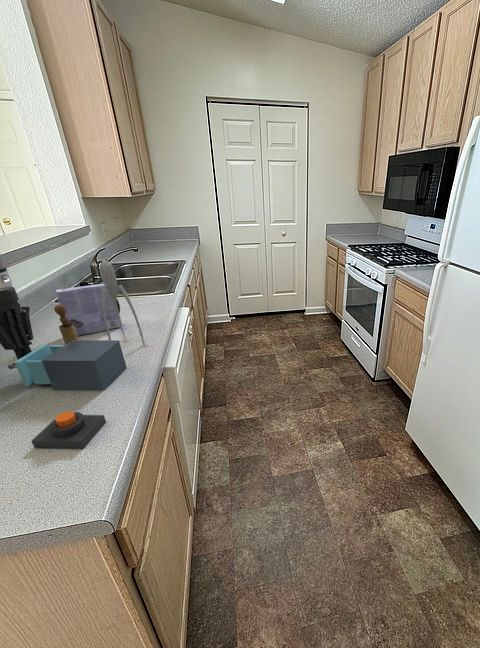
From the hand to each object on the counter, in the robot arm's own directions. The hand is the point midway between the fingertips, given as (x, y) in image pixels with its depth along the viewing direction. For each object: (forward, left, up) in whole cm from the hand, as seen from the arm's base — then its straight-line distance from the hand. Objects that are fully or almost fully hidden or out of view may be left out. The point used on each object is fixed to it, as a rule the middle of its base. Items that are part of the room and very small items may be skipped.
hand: (29, 366), depth 97 cm
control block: (+28, -24, -4) cm, 37 cm away
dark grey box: (+18, 0, -4) cm, 18 cm away
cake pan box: (-1, +35, -4) cm, 35 cm away
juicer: (+19, +22, -4) cm, 29 cm away
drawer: (+6, 0, -3) cm, 7 cm away
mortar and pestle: (+4, +14, -4) cm, 15 cm away
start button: (+28, -24, 0) cm, 37 cm away
